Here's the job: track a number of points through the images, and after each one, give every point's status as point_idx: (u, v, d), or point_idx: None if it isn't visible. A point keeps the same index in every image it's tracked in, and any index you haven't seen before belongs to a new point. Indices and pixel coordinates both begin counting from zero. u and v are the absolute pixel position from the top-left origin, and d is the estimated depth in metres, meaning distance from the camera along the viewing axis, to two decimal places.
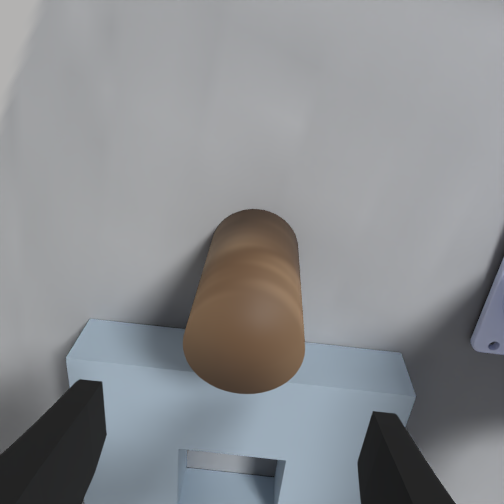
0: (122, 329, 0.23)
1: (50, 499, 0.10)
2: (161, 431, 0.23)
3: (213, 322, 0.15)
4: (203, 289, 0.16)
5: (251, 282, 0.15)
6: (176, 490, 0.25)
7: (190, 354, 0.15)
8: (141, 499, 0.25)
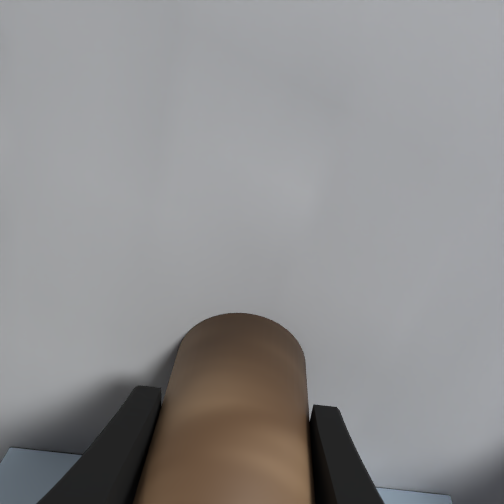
0: (54, 466, 0.16)
1: None
2: None
3: None
4: None
5: None
6: None
7: None
8: None
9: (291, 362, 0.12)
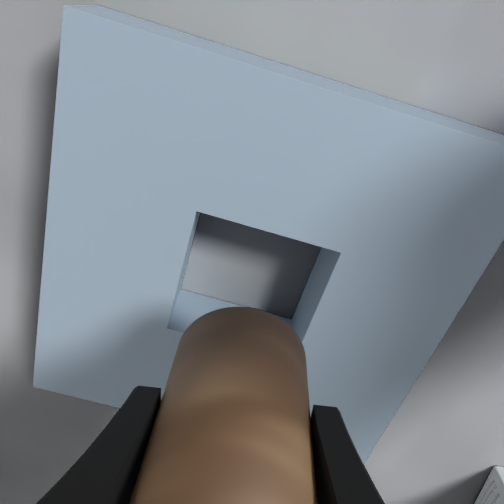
0: (146, 22, 0.16)
1: None
2: (178, 174, 0.16)
3: None
4: (141, 497, 0.09)
5: (225, 502, 0.08)
6: (175, 286, 0.18)
7: None
8: (123, 296, 0.18)
9: (291, 354, 0.13)
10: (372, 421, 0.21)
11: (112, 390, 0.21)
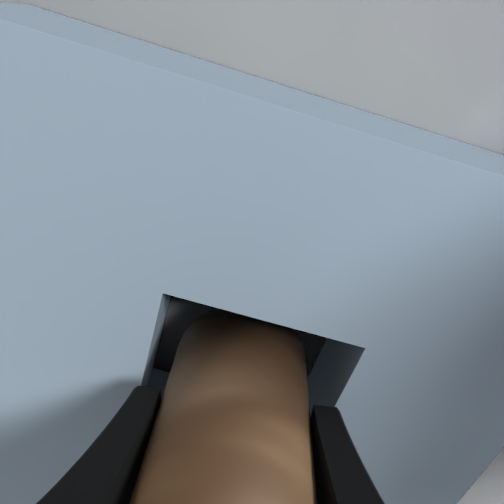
0: (89, 27, 0.11)
1: None
2: (135, 245, 0.11)
3: None
4: (141, 498, 0.09)
5: (225, 503, 0.08)
6: None
7: None
8: (69, 396, 0.14)
9: (291, 355, 0.13)
10: None
11: None
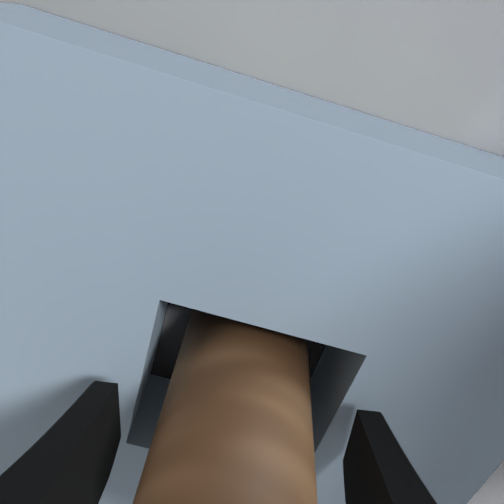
0: (84, 28, 0.11)
1: (69, 501, 0.10)
2: (131, 251, 0.11)
3: None
4: (160, 442, 0.10)
5: (234, 443, 0.09)
6: (135, 393, 0.13)
7: None
8: (64, 404, 0.13)
9: None
10: None
11: None
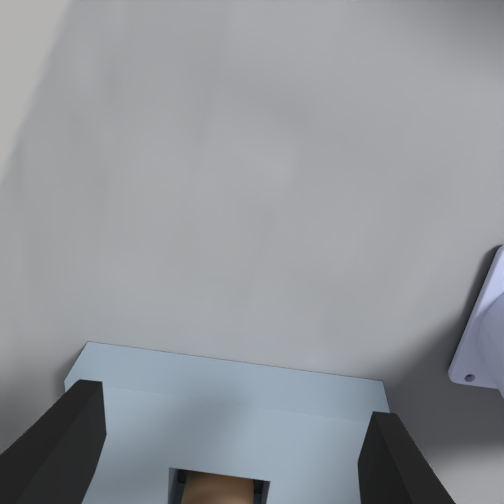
0: (118, 353, 0.24)
1: (50, 499, 0.10)
2: (152, 450, 0.24)
3: None
4: None
5: None
6: None
7: None
8: None
9: None
10: None
11: None
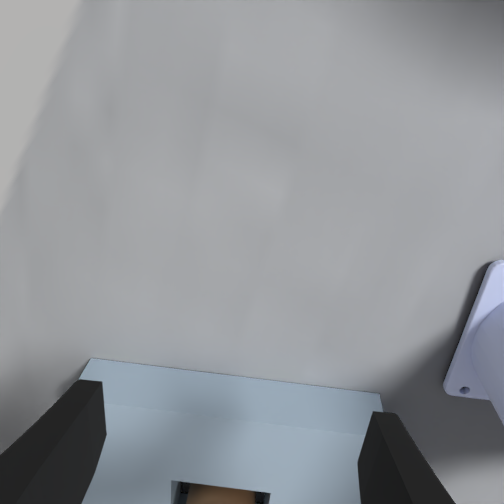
0: (120, 369, 0.25)
1: (50, 499, 0.10)
2: (154, 464, 0.25)
3: None
4: None
5: None
6: None
7: None
8: None
9: None
10: None
11: None
